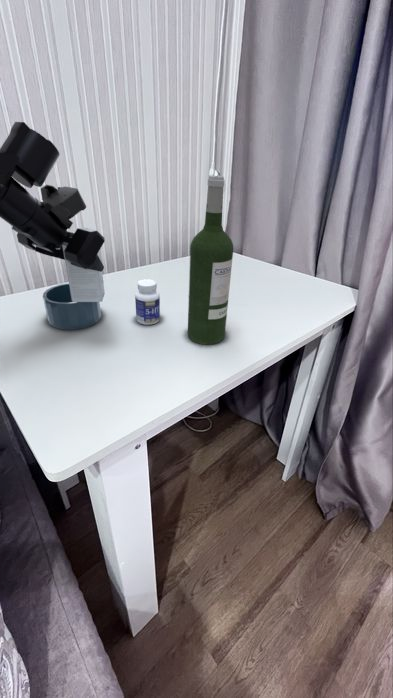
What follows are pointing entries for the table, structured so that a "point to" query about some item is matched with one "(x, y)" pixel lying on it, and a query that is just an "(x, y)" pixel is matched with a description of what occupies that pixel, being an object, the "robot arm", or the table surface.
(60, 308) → the bowl
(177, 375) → the table surface
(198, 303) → the wine bottle
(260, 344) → the table surface
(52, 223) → the robot arm
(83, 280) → the cosmetic box
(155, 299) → the pill bottle
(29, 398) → the table surface
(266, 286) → the table surface
